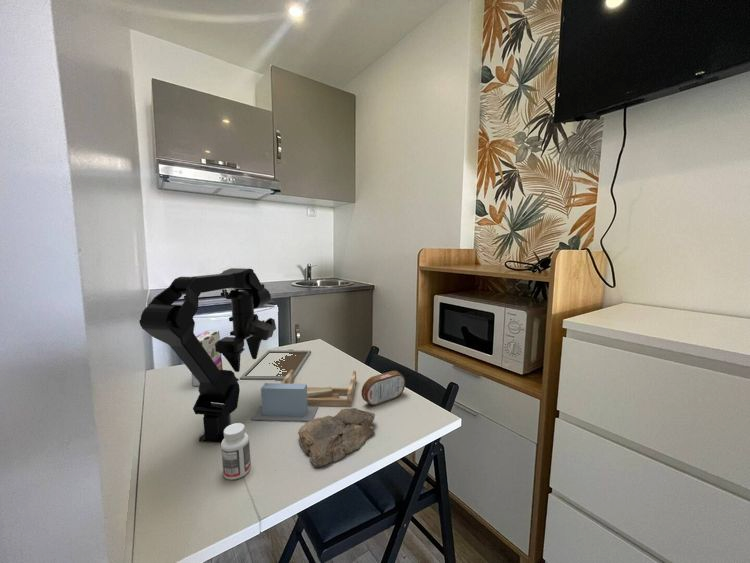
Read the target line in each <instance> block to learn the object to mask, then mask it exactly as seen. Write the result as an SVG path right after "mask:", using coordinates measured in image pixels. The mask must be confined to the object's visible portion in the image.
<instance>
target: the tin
mask: <svg viewBox="0 0 750 563" xmlns="http://www.w3.org/2000/svg"><path fill="white" fill-rule="evenodd" d="M405 387H406V378H405V377H404V376H403V374H401V372H399V371H398V370H391V371H388V372H384V373H381V374H376V375H374V376H371V377H369V378H368V379H366V381H365V382H364V383H363V385H362V388H361V398H362V400H363V401H365V403H367V404H368V405H369V406H370V405H371V406H378V405H380V404H383V403H386V402H390V401H392V400H394V399H397V398H399V397H400V396H401V395H402V393H403V392H404V391H405Z"/></svg>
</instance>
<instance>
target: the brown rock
mask: <svg viewBox="0 0 750 563" xmlns="http://www.w3.org/2000/svg"><path fill="white" fill-rule="evenodd" d="M375 418H376V413H374V412H372V411H371V412H370V411H365V410H362V409H358V408H357V407H350V408H343V409H340V410H339V412H337V414H335V415H334V416H332V415H326V416H322V417H317V418H313V419H312V420H310V421H308V422H304V424H303V425H302V426H301V427H299V429H298V431H297V434H298V436H299V437H298V438H299V439H298V442H299V443H298V444H299V446H300V448H301V449H302V451H303V452H305V453H304V454H305V455H306V454H307V455H309V461H310V463H311V464H312V465H313V466H314V467H315V468H321V467H323V466H326V465H328V463H329V464H331V463H336V462H338V461H339V459H340V460H341V459H343V458H345V456H346V455H347V454H350V453H352V452H355V451H357V450H359V449H361V448H362V447H363V446H364V445H365V441H368V439H370V437H371V436H372V435H373V434H374V432H375V426H373V423H374V421H375Z"/></svg>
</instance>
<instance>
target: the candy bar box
mask: <svg viewBox="0 0 750 563" xmlns="http://www.w3.org/2000/svg"><path fill="white" fill-rule="evenodd" d="M195 336H196V337H197V339H198V340H199V342H200V343H201V344H202V346H203V347H204V349H205V350H206V352H207V353H208V354H209V356H210V357H211V359H212V360H213V361H214V363H215V364H216V366H217V367H218V368H219V370H224V369H223V360H222V353H219V352H216V351H215V343H216V342H217V341H219V340H221V338H220V337H221V336H220V331H219V330H205V331H203V332H202V333H200V334H198V335H195ZM191 380H192V387H199V384H200V383H199V381H198V380H197V379H196V377H195V376H194V375H193V374H192V373H191Z"/></svg>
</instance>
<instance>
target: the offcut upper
mask: <svg viewBox="0 0 750 563" xmlns="http://www.w3.org/2000/svg"><path fill="white" fill-rule="evenodd" d="M332 388H333V387H332V386H325V387H318V388H314V389H307V398H320V397H328V396H332Z"/></svg>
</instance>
